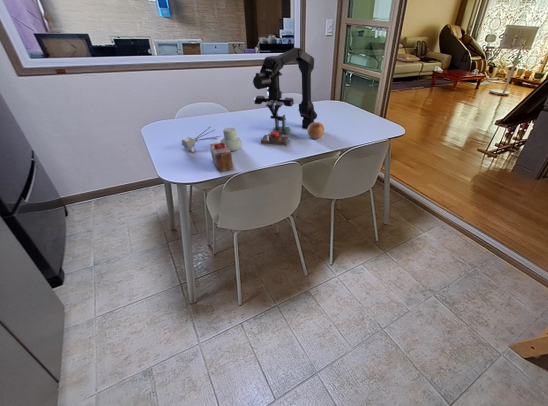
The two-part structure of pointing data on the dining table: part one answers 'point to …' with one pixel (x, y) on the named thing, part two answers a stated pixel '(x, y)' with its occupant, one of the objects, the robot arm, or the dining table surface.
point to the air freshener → (231, 139)
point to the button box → (274, 140)
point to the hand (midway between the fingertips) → (275, 118)
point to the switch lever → (277, 118)
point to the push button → (274, 134)
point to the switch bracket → (281, 129)
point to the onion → (315, 130)
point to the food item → (221, 156)
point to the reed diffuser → (193, 141)
